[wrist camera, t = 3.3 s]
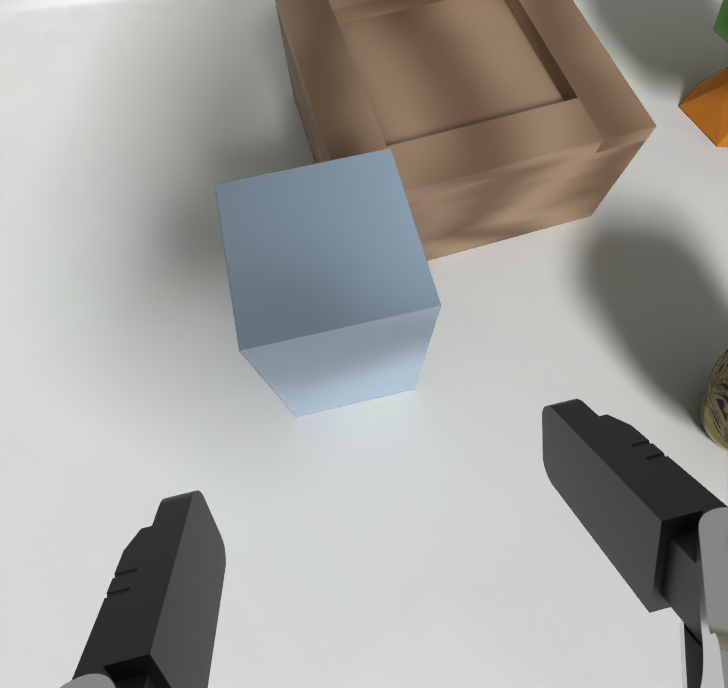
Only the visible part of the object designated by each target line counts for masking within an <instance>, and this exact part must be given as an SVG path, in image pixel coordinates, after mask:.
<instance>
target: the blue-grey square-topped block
mask: <svg viewBox="0 0 728 688" xmlns="http://www.w3.org/2000/svg"><path fill="white" fill-rule="evenodd" d="M215 190H216V197H217V204H218V210H219V217H220V224H221V231H222V237H223V244H224V251H225V257H226V264H227V271H228V278H229V284H230V291H231V298H232V305H233V311H234V318H235V325H236V331H237V338H238V345H239V351H240V352H241V353H242V355H243V356H244V357H245V358H246V359H247V360H248V362H249V363H250V364H251V365H252V366H253V367H254V369H255V370H256V371H257V372H258V373H259V374H260V376H261V377H262V378H263V379H264V380H265V382H266V383H267V384H268V385H269V386H270V387H271V389H272V390H273V391H274V392H275V393H276V394H277V396H278V397H279V398H280V399H281V400H282V401H283V403H284V404H285V405H286V406H287V407H288V408H289V410H290V411H291V412H292V413H293V414H294V415H295V417H299V416H304V415H308V414H312V413H316V412H320V411H325V410H329V409H333V408H337V407H342V406H346V405H350V404H354V403H359V402H363V401H367V400H371V399H376V398H380V397H384V396H388V395H393V394H397V393H401V392H405V391H410V390H414V389H415V385H416V382H417V379H418V376H419V373H420V370H421V367H422V364H423V360H424V357H425V354H426V351H427V348H428V345H429V342H430V338H431V335H432V332H433V329H434V326H435V323H436V320H437V316H438V313H439V310H440V307H441V304H440V301H439V298H438V295H437V292H436V288H435V285H434V282H433V279H432V276H431V273H430V270H429V267H428V263H427V260H426V257H425V254H424V251H423V248H422V245H421V242H420V239H419V235H418V232H417V229H416V226H415V223H414V220H413V217H412V214H411V210H410V207H409V204H408V201H407V198H406V195H405V192H404V189H403V185H402V182H401V179H400V176H399V173H398V170H397V167H396V164H395V161H394V157H393V154H392V151H391V148H390V149H385V150H380V151H375V152H370V153H365V154H360V155H356V156H351V157H346V158H341V159H336V160H331V161H326V162H321V163H316V164H312V165H307V166H302V167H297V168H292V169H287V170H282V171H277V172H272V173H268V174H263V175H258V176H253V177H248V178H243V179H238V180H233V181H228V182H224V183H219V184H215Z"/></svg>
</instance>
